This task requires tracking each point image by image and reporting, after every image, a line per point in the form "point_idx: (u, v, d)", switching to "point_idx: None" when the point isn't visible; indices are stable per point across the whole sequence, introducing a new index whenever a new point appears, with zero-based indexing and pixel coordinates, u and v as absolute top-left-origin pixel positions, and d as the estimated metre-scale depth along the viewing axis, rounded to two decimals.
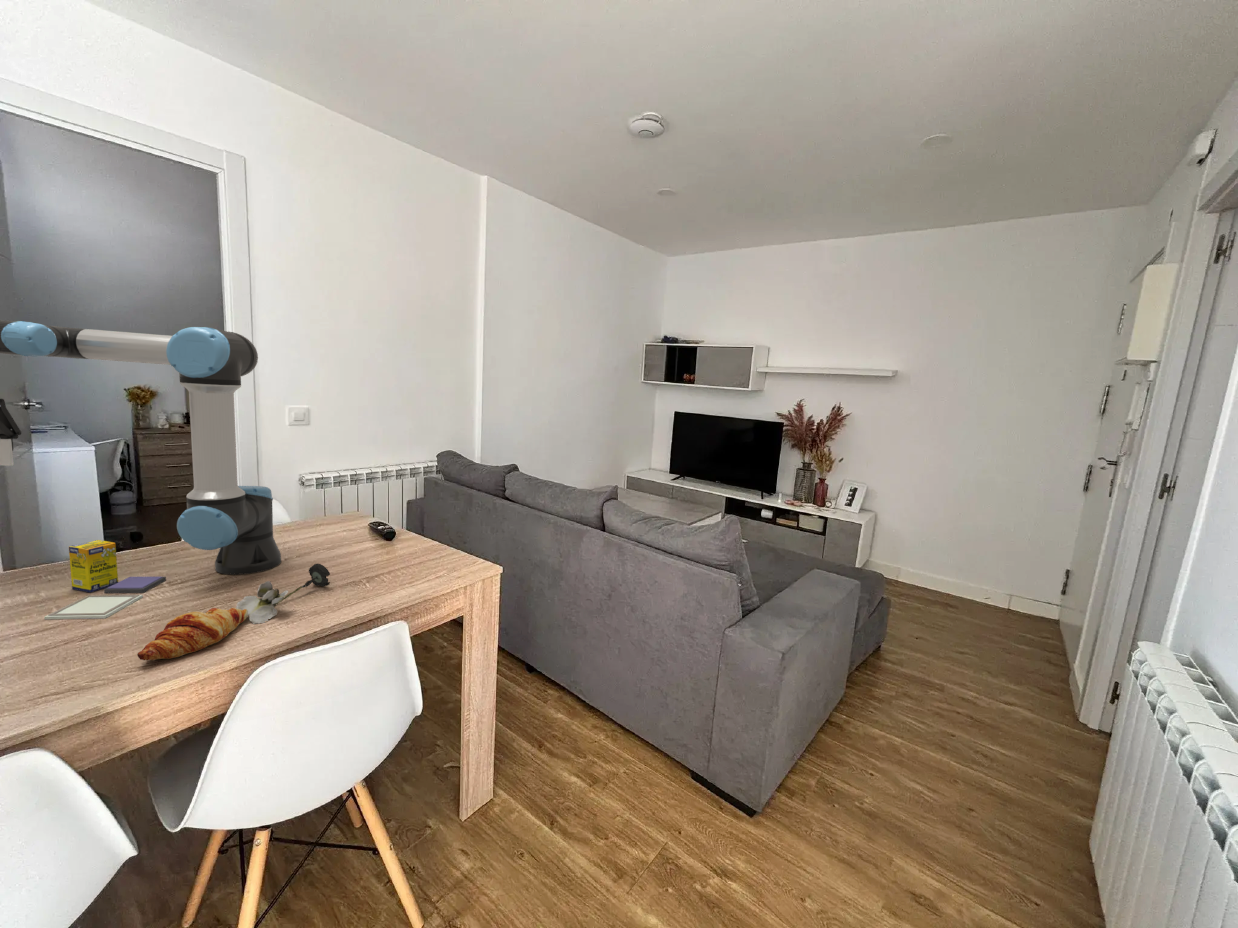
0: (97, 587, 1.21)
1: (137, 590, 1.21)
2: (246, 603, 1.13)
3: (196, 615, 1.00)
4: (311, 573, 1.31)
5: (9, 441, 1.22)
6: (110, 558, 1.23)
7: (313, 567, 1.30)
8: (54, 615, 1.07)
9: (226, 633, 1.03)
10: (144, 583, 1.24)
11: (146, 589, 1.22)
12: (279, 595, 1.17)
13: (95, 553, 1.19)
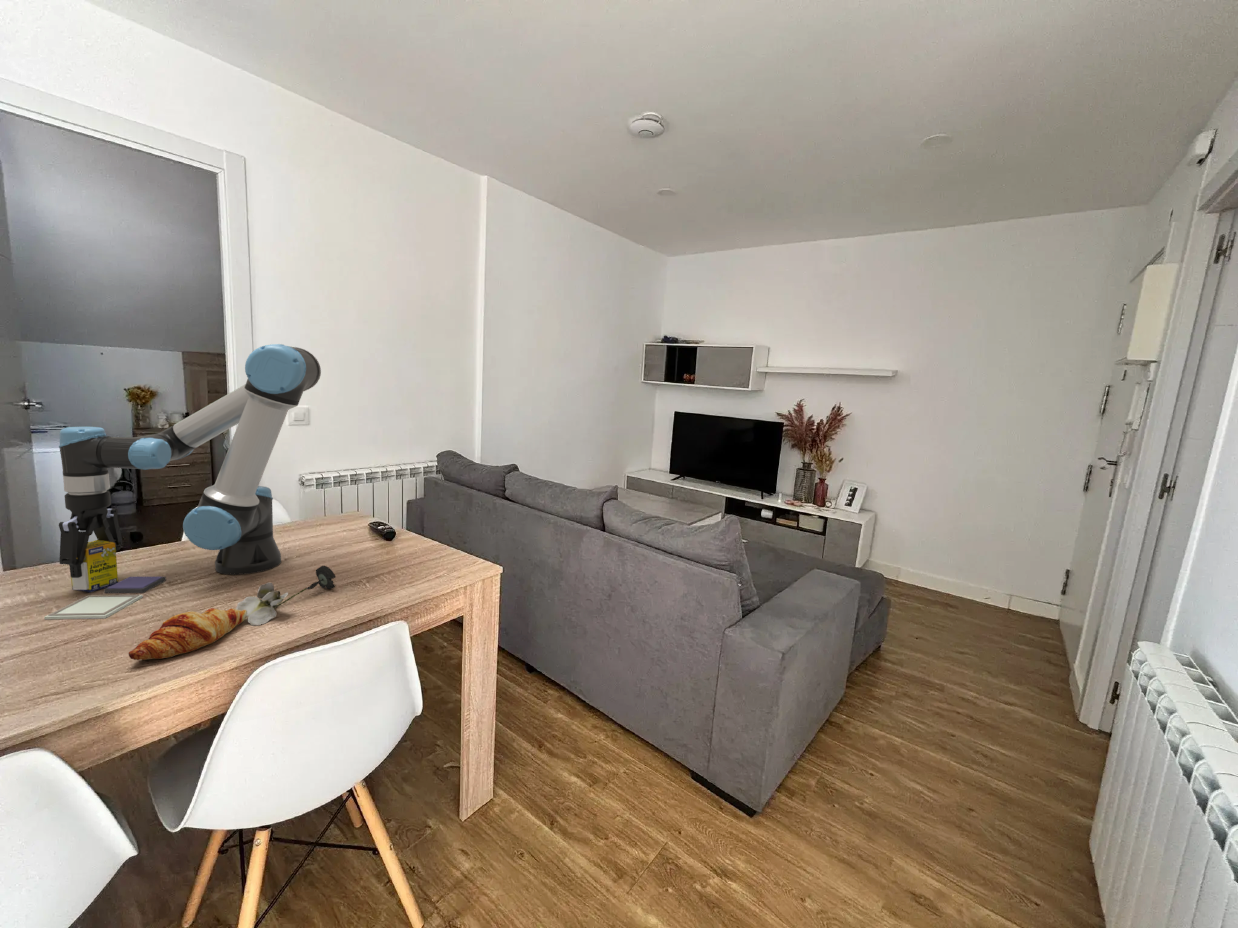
0: (97, 587, 1.21)
1: (137, 590, 1.21)
2: (246, 604, 1.13)
3: (190, 615, 0.99)
4: (318, 575, 1.30)
5: None
6: (110, 558, 1.23)
7: (319, 569, 1.29)
8: (54, 615, 1.07)
9: (220, 635, 1.02)
10: (144, 583, 1.24)
11: (146, 589, 1.22)
12: (280, 597, 1.16)
13: (95, 553, 1.19)
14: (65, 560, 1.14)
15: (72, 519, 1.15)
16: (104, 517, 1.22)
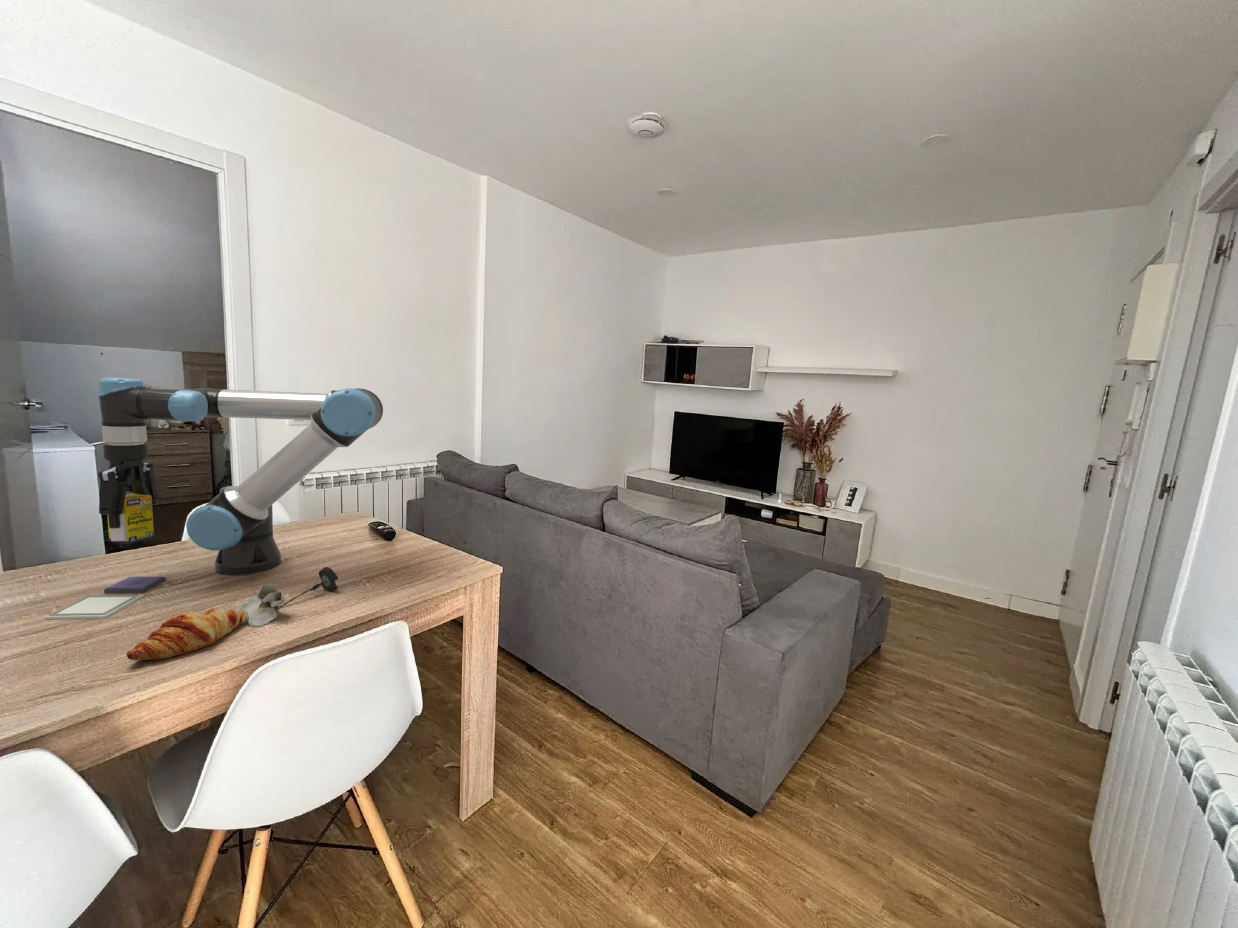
0: (134, 539, 1.20)
1: (137, 590, 1.21)
2: (247, 605, 1.12)
3: (189, 616, 0.99)
4: (321, 576, 1.29)
5: None
6: (147, 511, 1.22)
7: (322, 570, 1.28)
8: (54, 615, 1.07)
9: (219, 635, 1.02)
10: (144, 583, 1.24)
11: (146, 589, 1.22)
12: (281, 598, 1.15)
13: (133, 505, 1.19)
14: (104, 510, 1.14)
15: (111, 469, 1.15)
16: (141, 470, 1.22)
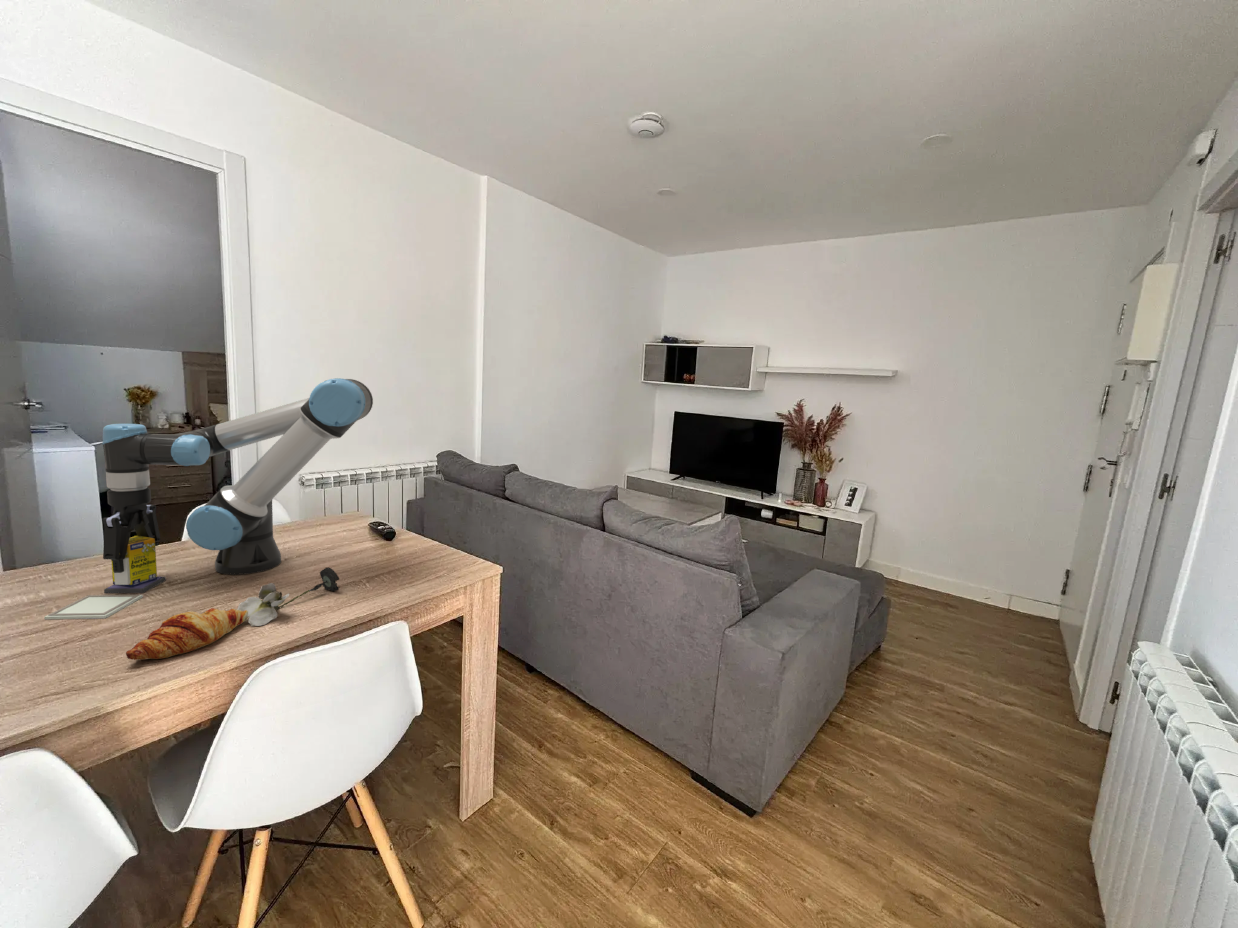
0: (138, 582, 1.22)
1: (137, 590, 1.21)
2: (248, 604, 1.12)
3: (189, 616, 0.99)
4: (322, 577, 1.29)
5: None
6: (150, 554, 1.24)
7: (323, 571, 1.28)
8: (54, 615, 1.07)
9: (219, 635, 1.02)
10: (144, 583, 1.24)
11: (146, 589, 1.22)
12: (281, 598, 1.15)
13: (136, 548, 1.21)
14: (108, 555, 1.16)
15: (115, 515, 1.17)
16: (144, 513, 1.23)
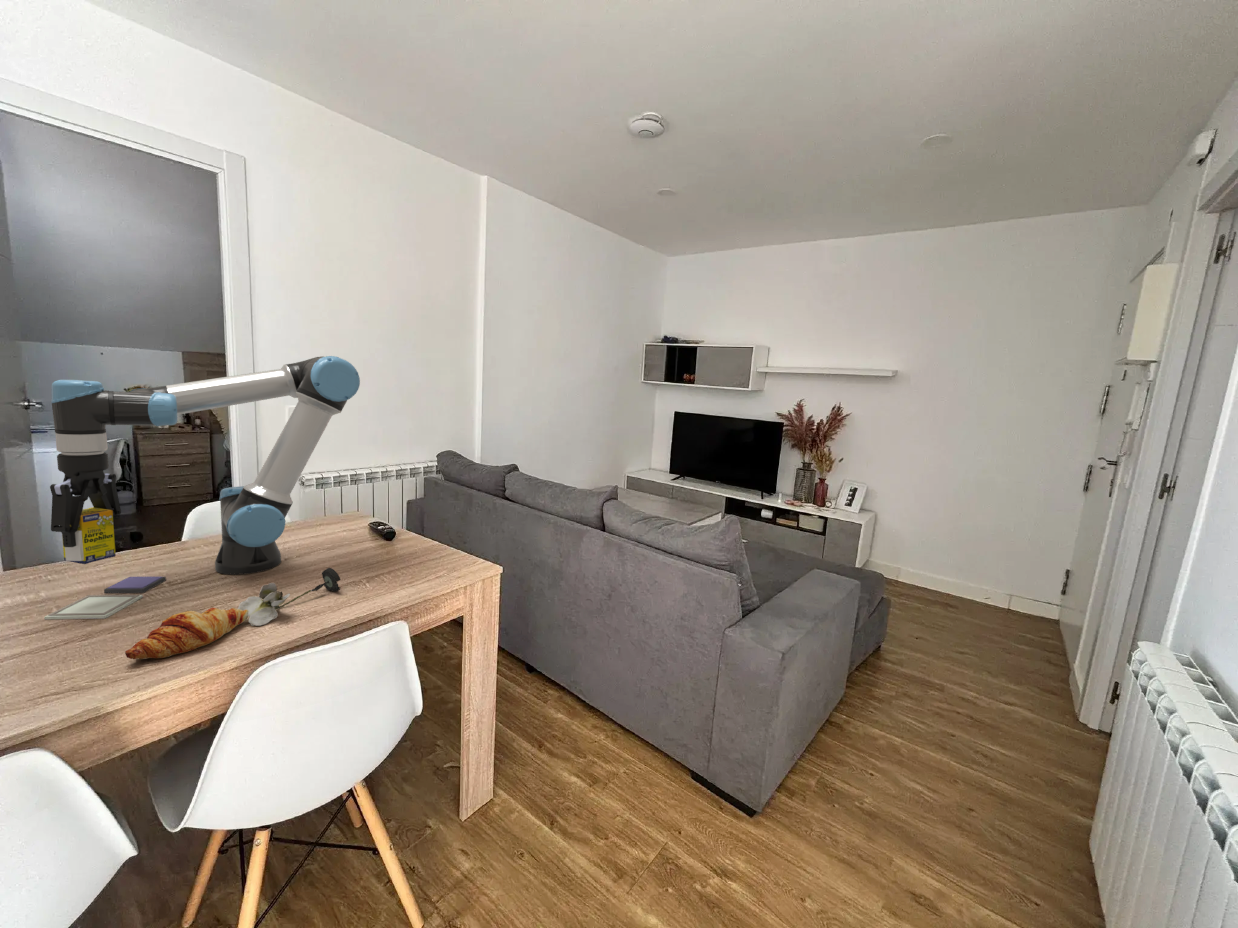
0: (92, 558, 1.09)
1: (137, 590, 1.21)
2: (249, 604, 1.12)
3: (188, 616, 0.99)
4: (323, 577, 1.29)
5: None
6: (107, 527, 1.11)
7: (325, 571, 1.28)
8: (54, 615, 1.07)
9: (218, 635, 1.02)
10: (144, 583, 1.24)
11: (146, 589, 1.22)
12: (282, 598, 1.15)
13: (90, 521, 1.08)
14: (57, 527, 1.02)
15: (65, 482, 1.04)
16: (101, 482, 1.10)
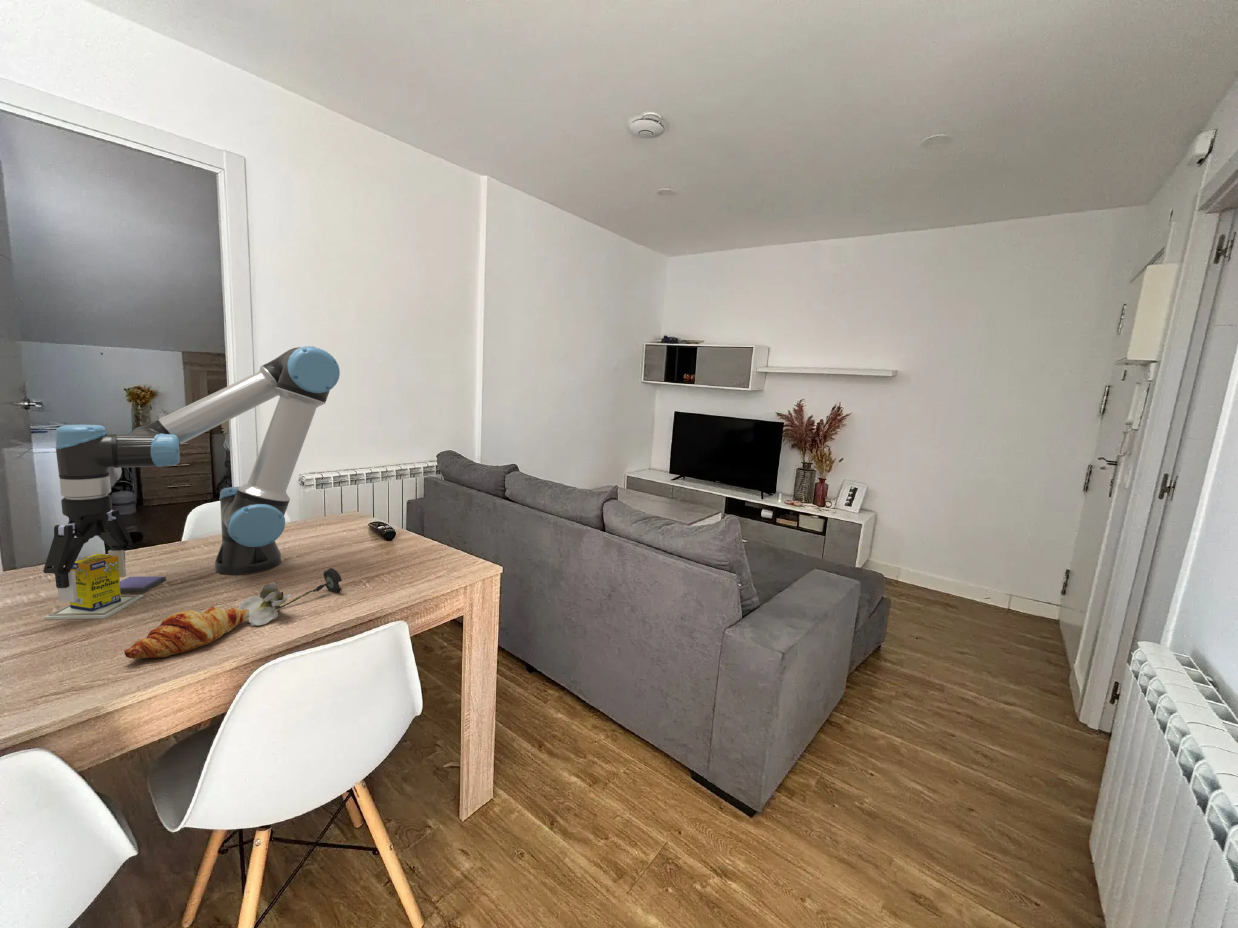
0: (99, 605, 1.11)
1: (137, 590, 1.21)
2: (249, 603, 1.12)
3: (188, 615, 0.99)
4: (325, 577, 1.29)
5: (122, 552, 1.18)
6: (113, 574, 1.13)
7: (327, 572, 1.28)
8: (54, 615, 1.07)
9: (217, 635, 1.02)
10: (144, 583, 1.24)
11: (146, 589, 1.22)
12: (282, 598, 1.15)
13: (97, 568, 1.10)
14: (50, 568, 1.01)
15: (70, 524, 1.05)
16: (105, 523, 1.12)
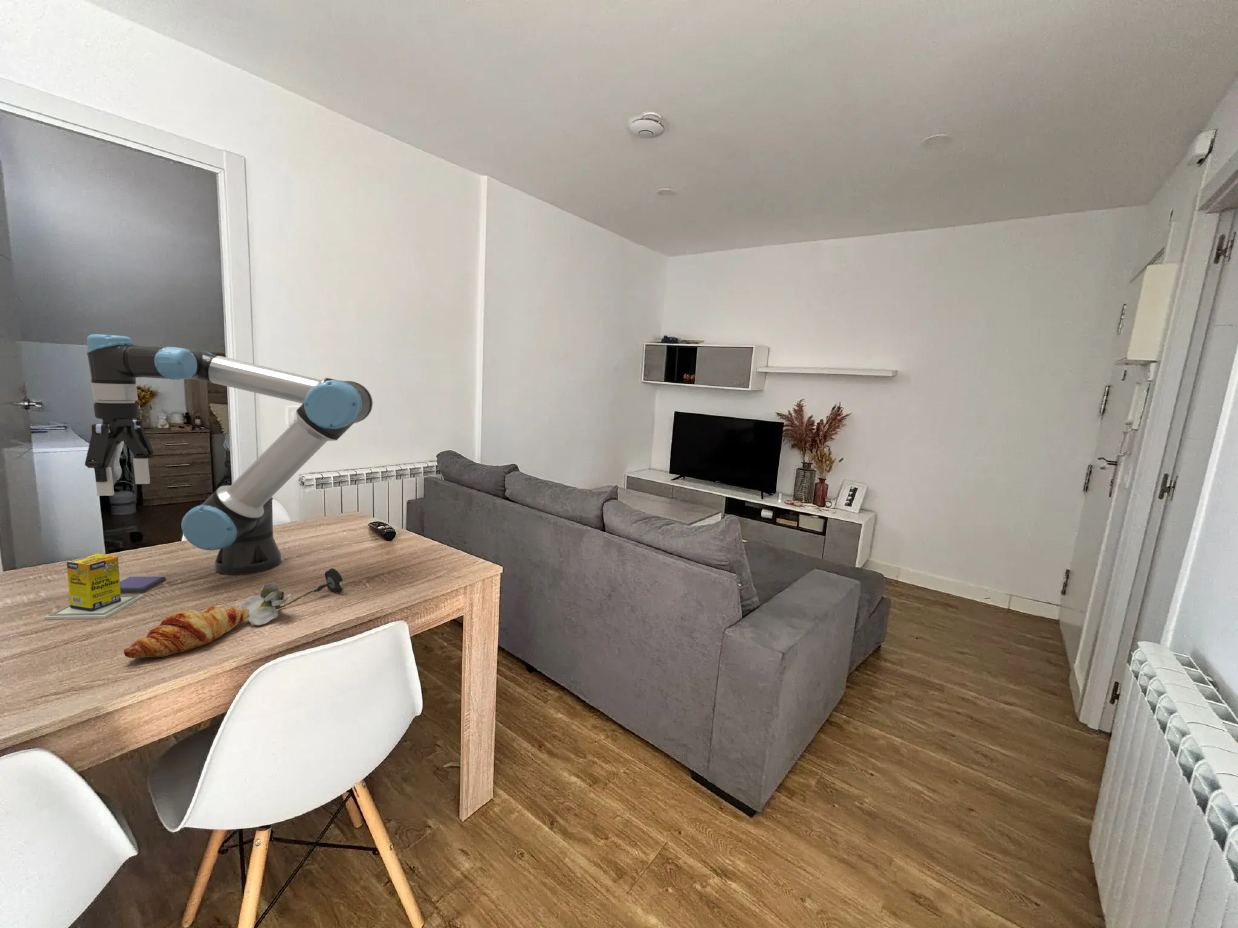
0: (99, 605, 1.11)
1: (137, 590, 1.21)
2: (250, 603, 1.12)
3: (187, 615, 0.99)
4: (326, 578, 1.29)
5: (146, 460, 1.27)
6: (113, 574, 1.13)
7: (328, 572, 1.28)
8: (54, 615, 1.07)
9: (217, 635, 1.02)
10: (144, 583, 1.24)
11: (146, 589, 1.22)
12: (283, 598, 1.15)
13: (97, 568, 1.10)
14: (91, 461, 1.11)
15: None
16: (133, 429, 1.21)
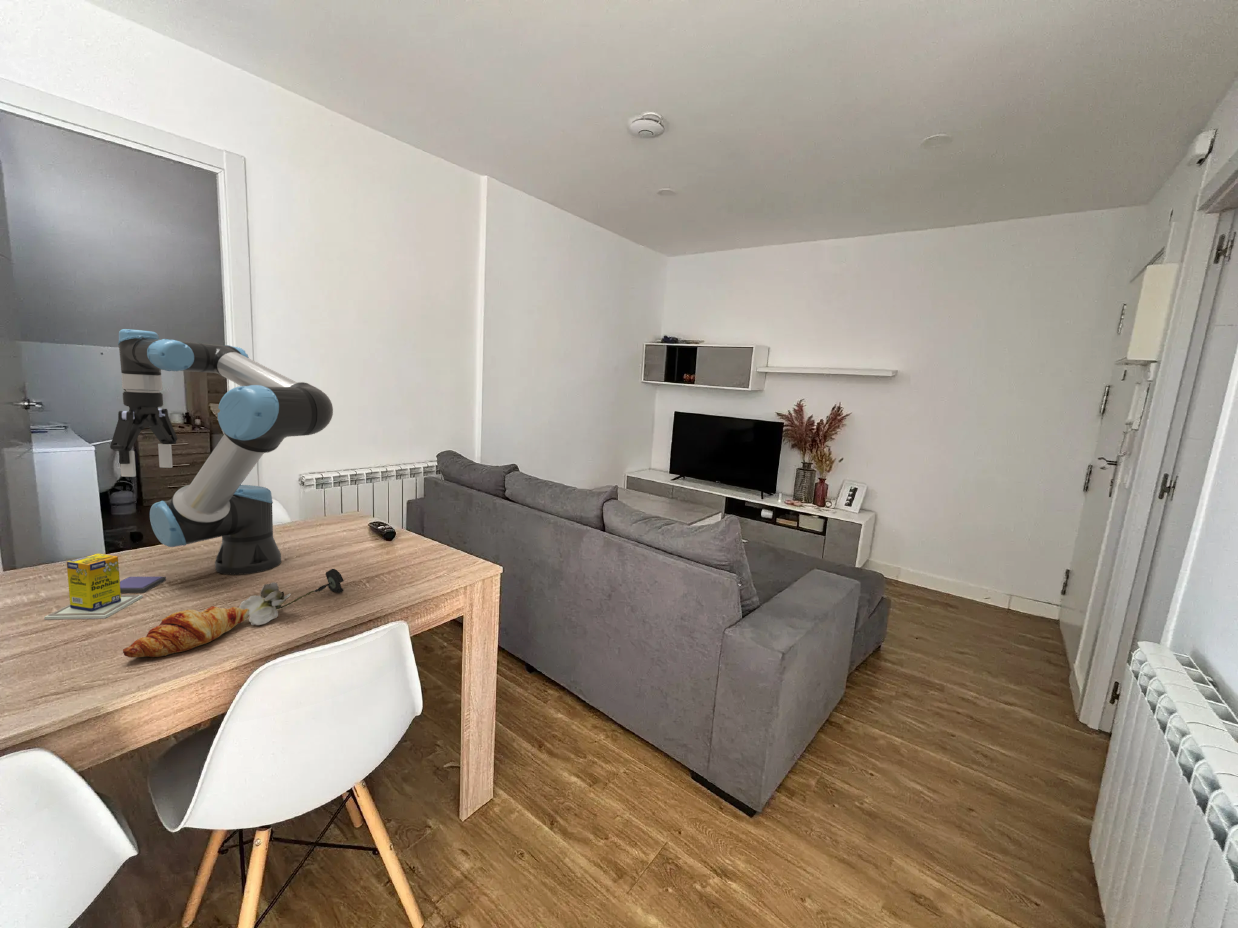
0: (99, 605, 1.11)
1: (137, 590, 1.21)
2: (250, 603, 1.12)
3: (187, 615, 1.00)
4: (327, 578, 1.29)
5: (170, 446, 1.38)
6: (113, 574, 1.13)
7: (329, 572, 1.28)
8: (54, 615, 1.07)
9: (216, 635, 1.02)
10: (144, 583, 1.24)
11: (146, 589, 1.22)
12: (283, 597, 1.15)
13: (97, 568, 1.10)
14: (116, 445, 1.21)
15: None
16: (157, 416, 1.32)
